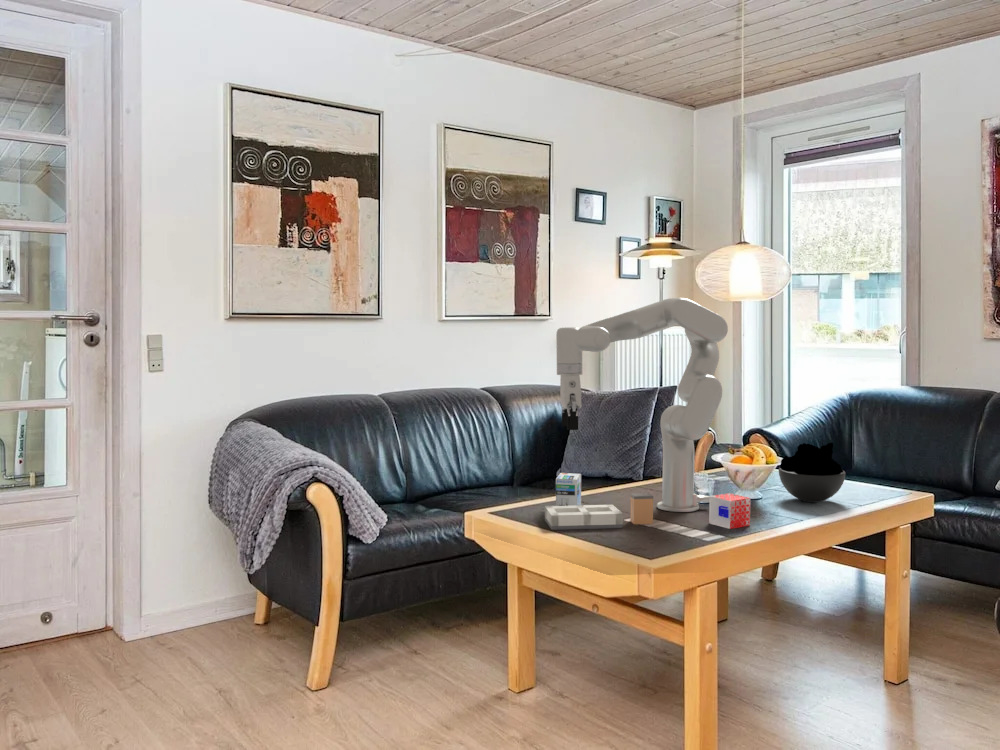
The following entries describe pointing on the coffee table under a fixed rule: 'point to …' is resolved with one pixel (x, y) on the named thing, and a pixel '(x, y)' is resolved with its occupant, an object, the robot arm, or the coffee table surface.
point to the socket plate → (583, 517)
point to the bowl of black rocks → (811, 473)
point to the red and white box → (729, 510)
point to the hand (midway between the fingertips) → (569, 427)
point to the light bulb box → (568, 489)
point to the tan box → (641, 508)
